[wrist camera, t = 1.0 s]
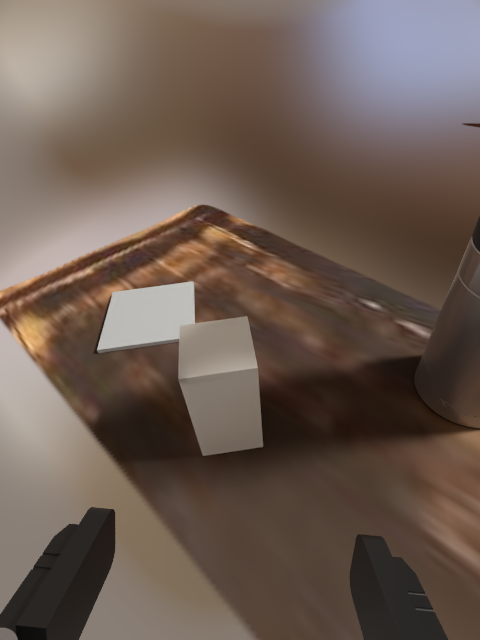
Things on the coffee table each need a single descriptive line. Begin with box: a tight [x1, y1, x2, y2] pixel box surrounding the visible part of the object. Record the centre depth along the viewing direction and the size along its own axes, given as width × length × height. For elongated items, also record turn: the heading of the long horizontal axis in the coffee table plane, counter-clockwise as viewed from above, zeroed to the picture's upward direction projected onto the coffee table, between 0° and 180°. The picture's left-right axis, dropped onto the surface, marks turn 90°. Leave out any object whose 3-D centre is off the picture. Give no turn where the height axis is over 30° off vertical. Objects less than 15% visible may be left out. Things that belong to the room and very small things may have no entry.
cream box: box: [178, 316, 263, 456], centre depth 31 cm, size 6×6×12 cm
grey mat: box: [97, 282, 195, 353], centre depth 50 cm, size 13×13×1 cm
